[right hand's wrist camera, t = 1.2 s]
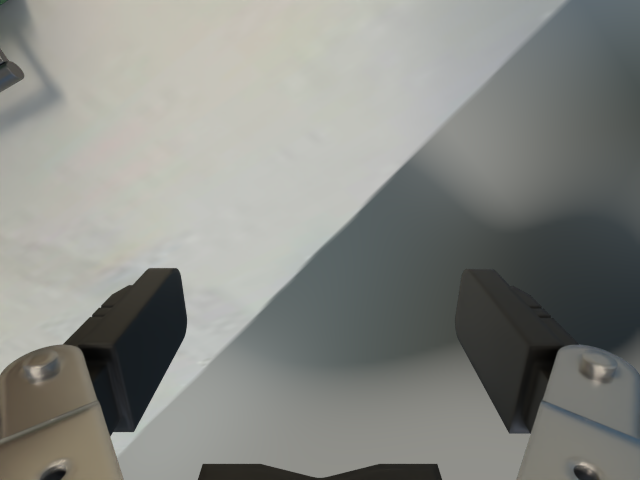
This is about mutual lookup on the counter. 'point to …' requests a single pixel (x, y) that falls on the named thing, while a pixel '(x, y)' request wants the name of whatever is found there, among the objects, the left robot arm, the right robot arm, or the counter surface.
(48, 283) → the counter surface
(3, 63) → the drawer
